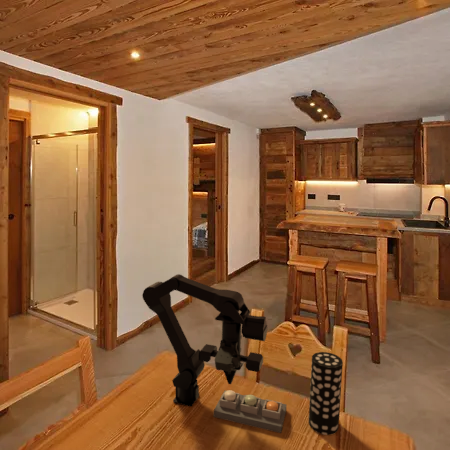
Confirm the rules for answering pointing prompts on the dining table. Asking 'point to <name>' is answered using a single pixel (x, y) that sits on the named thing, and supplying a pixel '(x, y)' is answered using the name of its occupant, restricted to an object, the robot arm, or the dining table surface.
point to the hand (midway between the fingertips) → (230, 383)
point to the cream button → (230, 396)
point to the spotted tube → (325, 392)
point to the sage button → (250, 400)
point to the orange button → (272, 406)
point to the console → (251, 413)
